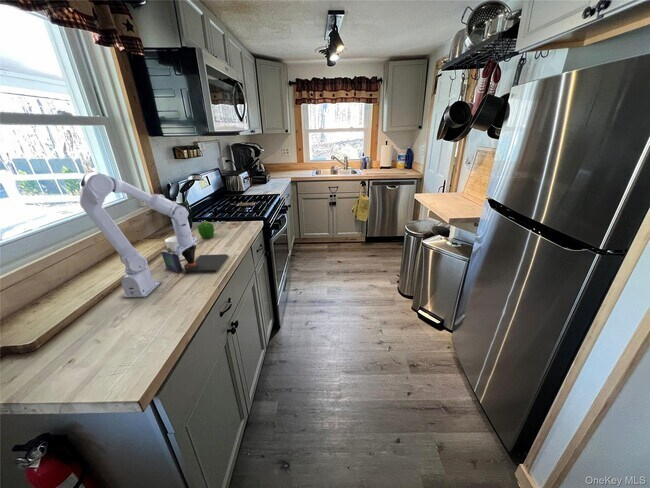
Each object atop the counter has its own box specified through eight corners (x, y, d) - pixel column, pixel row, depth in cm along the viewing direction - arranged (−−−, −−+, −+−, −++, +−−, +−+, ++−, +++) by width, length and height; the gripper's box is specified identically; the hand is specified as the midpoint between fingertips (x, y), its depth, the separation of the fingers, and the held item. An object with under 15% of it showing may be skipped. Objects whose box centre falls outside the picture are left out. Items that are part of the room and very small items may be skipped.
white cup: (181, 262, 120) (175, 242, 116) (166, 261, 122) (160, 241, 118) (192, 254, 127) (187, 236, 123) (178, 253, 129) (173, 235, 125)
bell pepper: (198, 237, 149) (194, 220, 145) (213, 233, 154) (209, 217, 150) (202, 241, 143) (198, 224, 139) (217, 237, 147) (213, 221, 143)
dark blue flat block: (165, 269, 114) (158, 247, 110) (171, 266, 116) (164, 244, 112) (179, 273, 110) (172, 250, 106) (185, 270, 113) (179, 247, 109)
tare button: (194, 268, 110) (193, 264, 110) (187, 268, 110) (186, 264, 110) (197, 264, 113) (196, 261, 112) (190, 264, 113) (189, 261, 112)
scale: (215, 272, 110) (214, 266, 108) (183, 273, 110) (181, 267, 109) (228, 256, 124) (226, 251, 123) (199, 257, 124) (197, 252, 123)
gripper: (184, 240, 99) (192, 270, 104) (200, 227, 112) (207, 255, 118) (166, 240, 99) (175, 271, 104) (184, 227, 112) (192, 255, 118)
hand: (191, 262), depth 111 cm, fingers closed, pressing on tare button
